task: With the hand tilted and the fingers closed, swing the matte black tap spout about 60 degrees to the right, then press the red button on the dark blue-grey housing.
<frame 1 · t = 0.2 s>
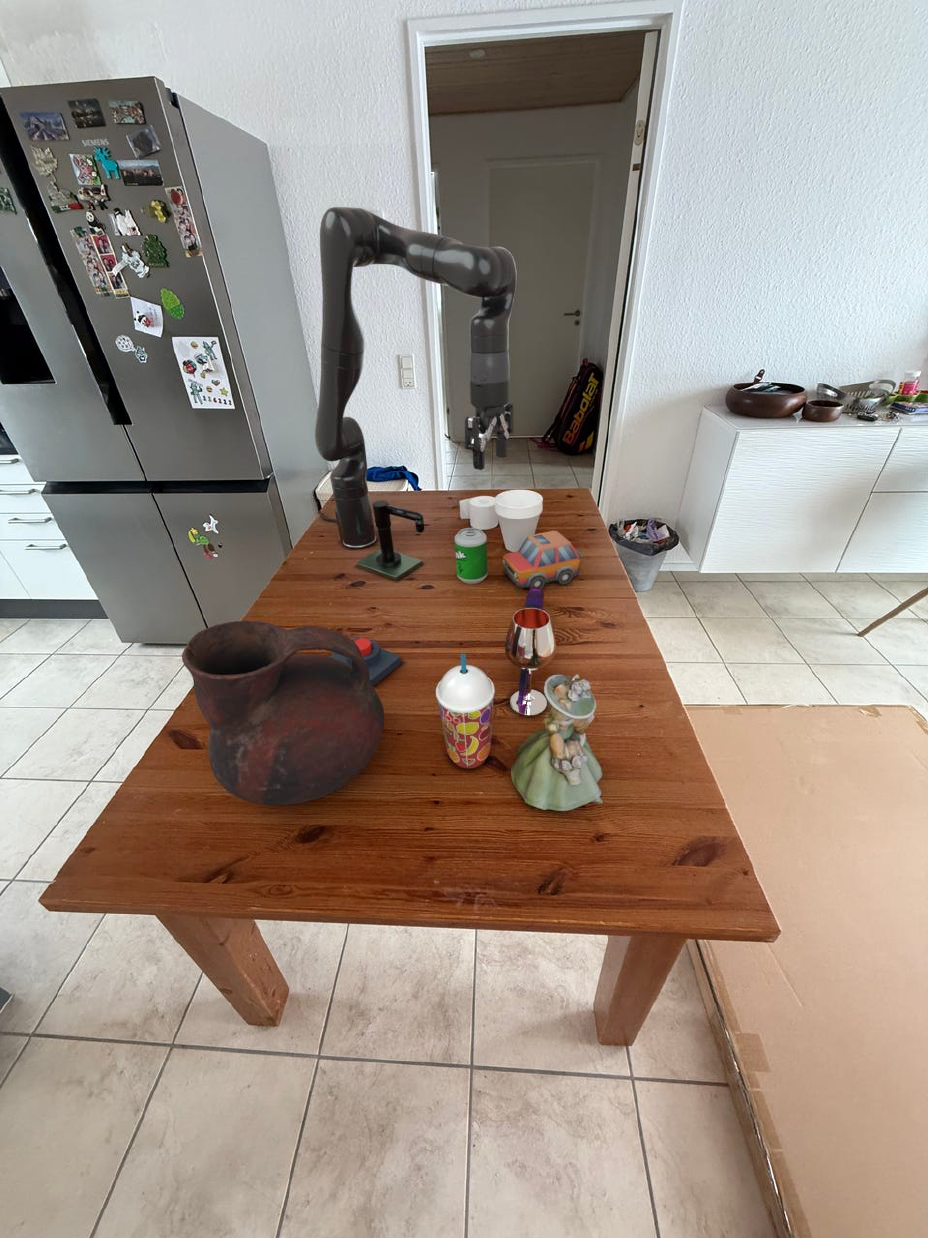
hand: (490, 462, 105), 29 cm above the table, tool pointing down, fingers open, 8 cm apart
figurine: (555, 788, 74), on the table
wineglass: (528, 703, 89), on the table, touching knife
spout: (399, 519, 121), point 14 cm above the table, hinge at 0.0°
soda can: (472, 578, 125), on the table
jug: (311, 762, 81), on the table
toy car: (540, 577, 124), on the table
smoothie: (469, 755, 80), on the table
tap base: (389, 565, 132), on the table
cup: (518, 547, 137), on the table
button: (361, 647, 97), point 4 cm above the table, slide at 0.1 cm
button box: (365, 663, 100), on the table
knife: (528, 654, 100), on the table, touching wineglass
toilet paper: (479, 522, 152), on the table
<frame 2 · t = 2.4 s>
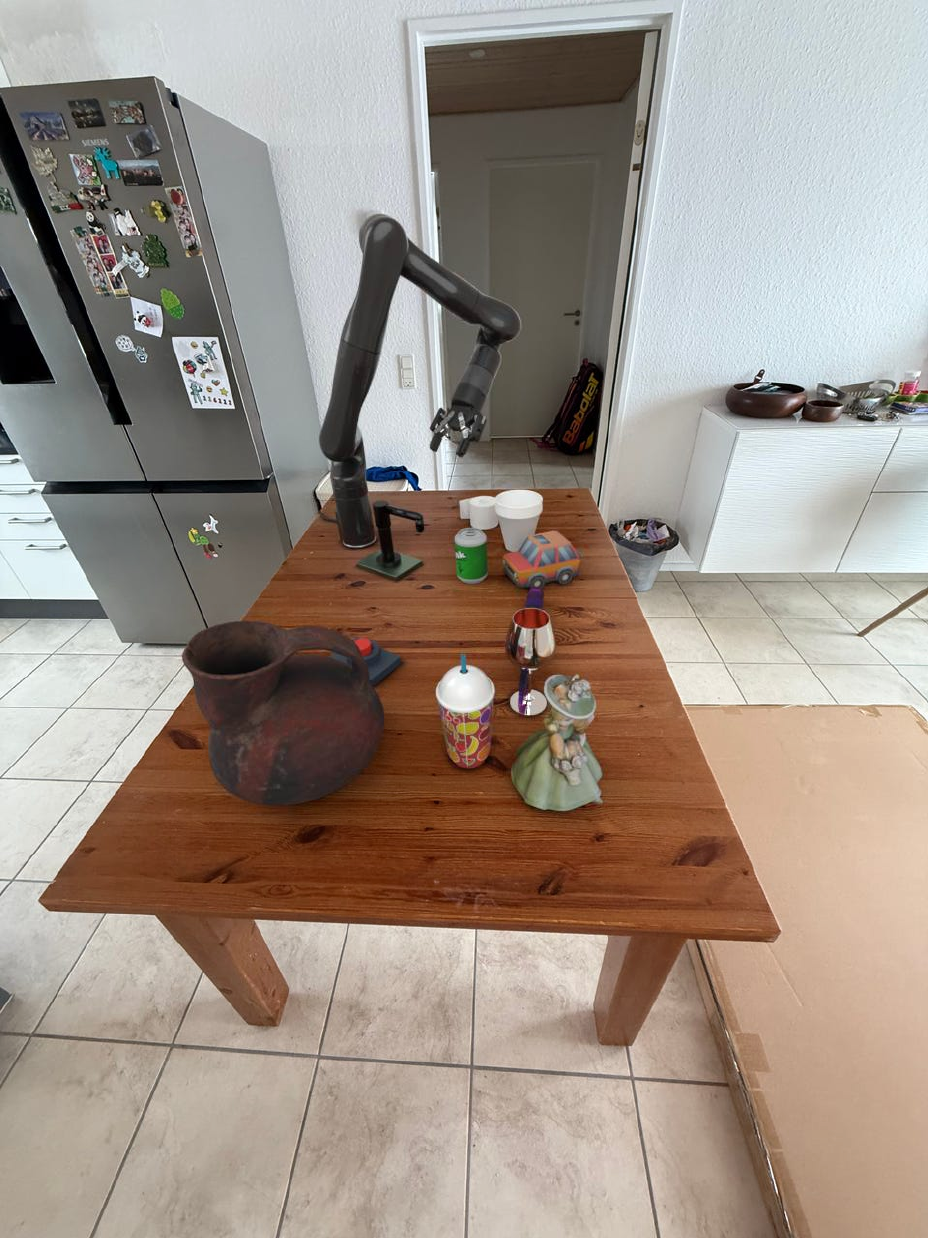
hand: (445, 452, 122), 26 cm above the table, tool tilted 45°, fingers open, 8 cm apart
nothing on the table moved.
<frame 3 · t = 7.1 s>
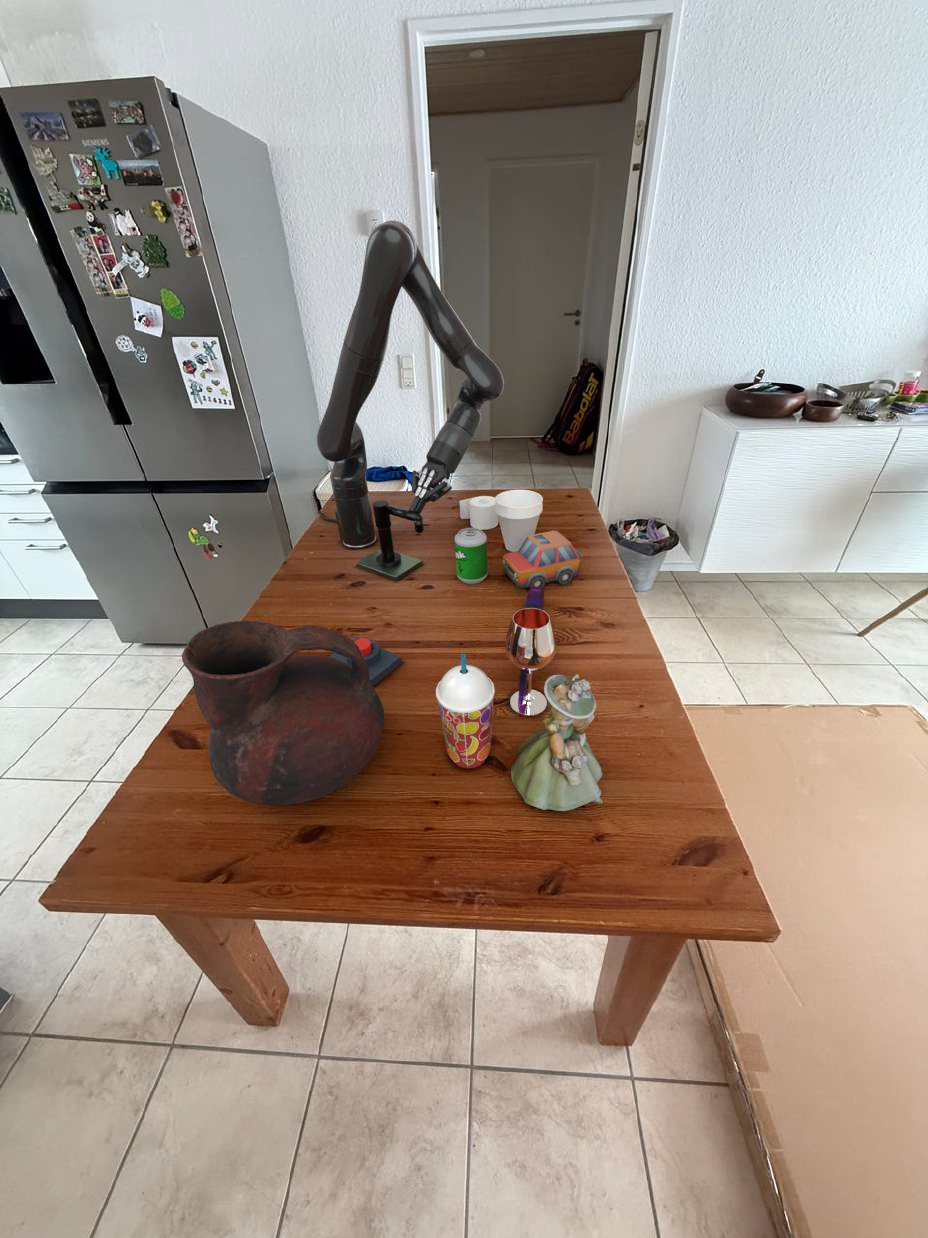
hand: (413, 513, 119), 16 cm above the table, tool tilted 45°, fingers closed
spout: (398, 519, 121), point 14 cm above the table, hinge at -1.6°, touching gripper
everything else where it was.
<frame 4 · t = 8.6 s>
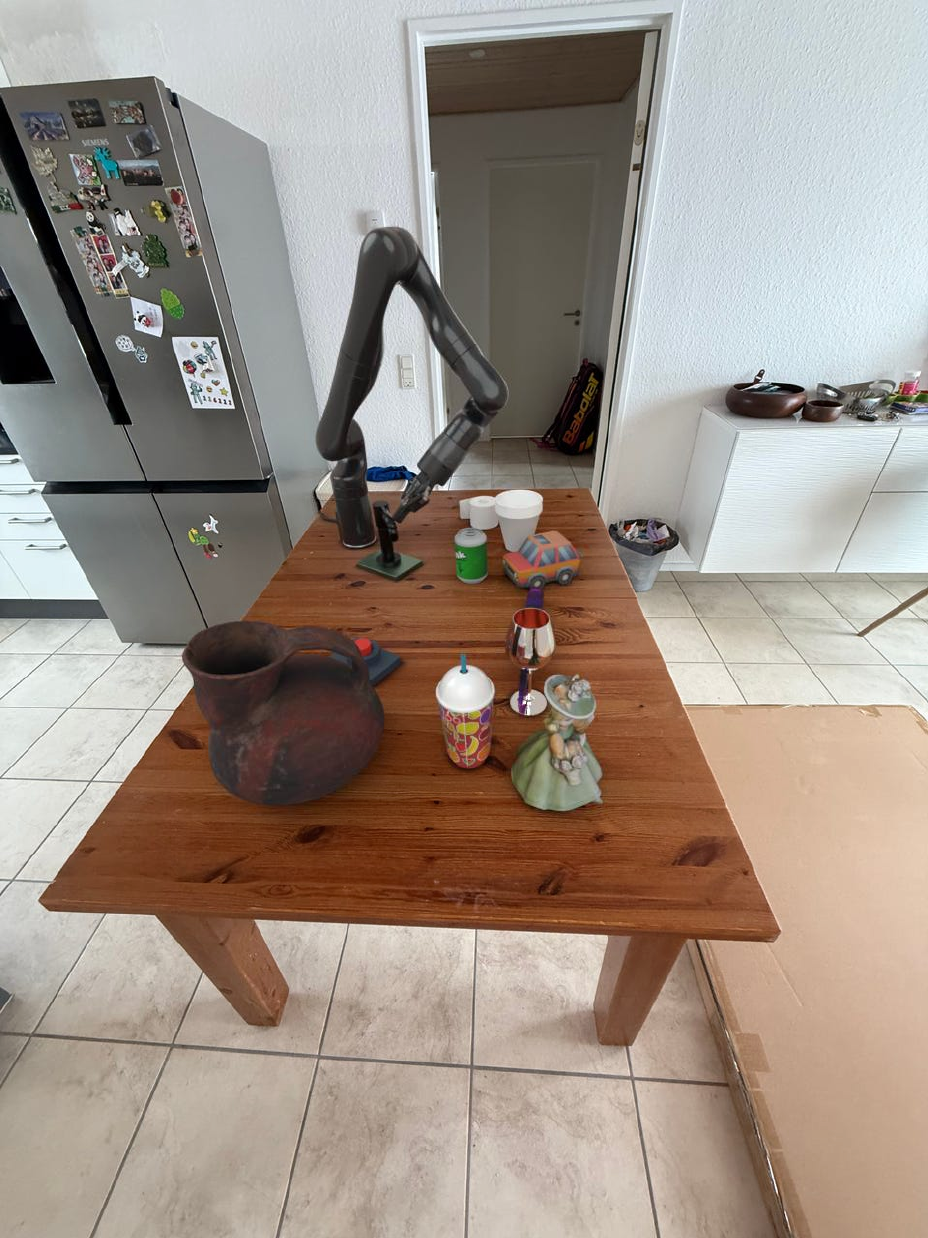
hand: (395, 520, 116), 16 cm above the table, tool tilted 45°, fingers closed
spout: (387, 523, 120), point 14 cm above the table, hinge at -34.1°, touching gripper
everything else where it was.
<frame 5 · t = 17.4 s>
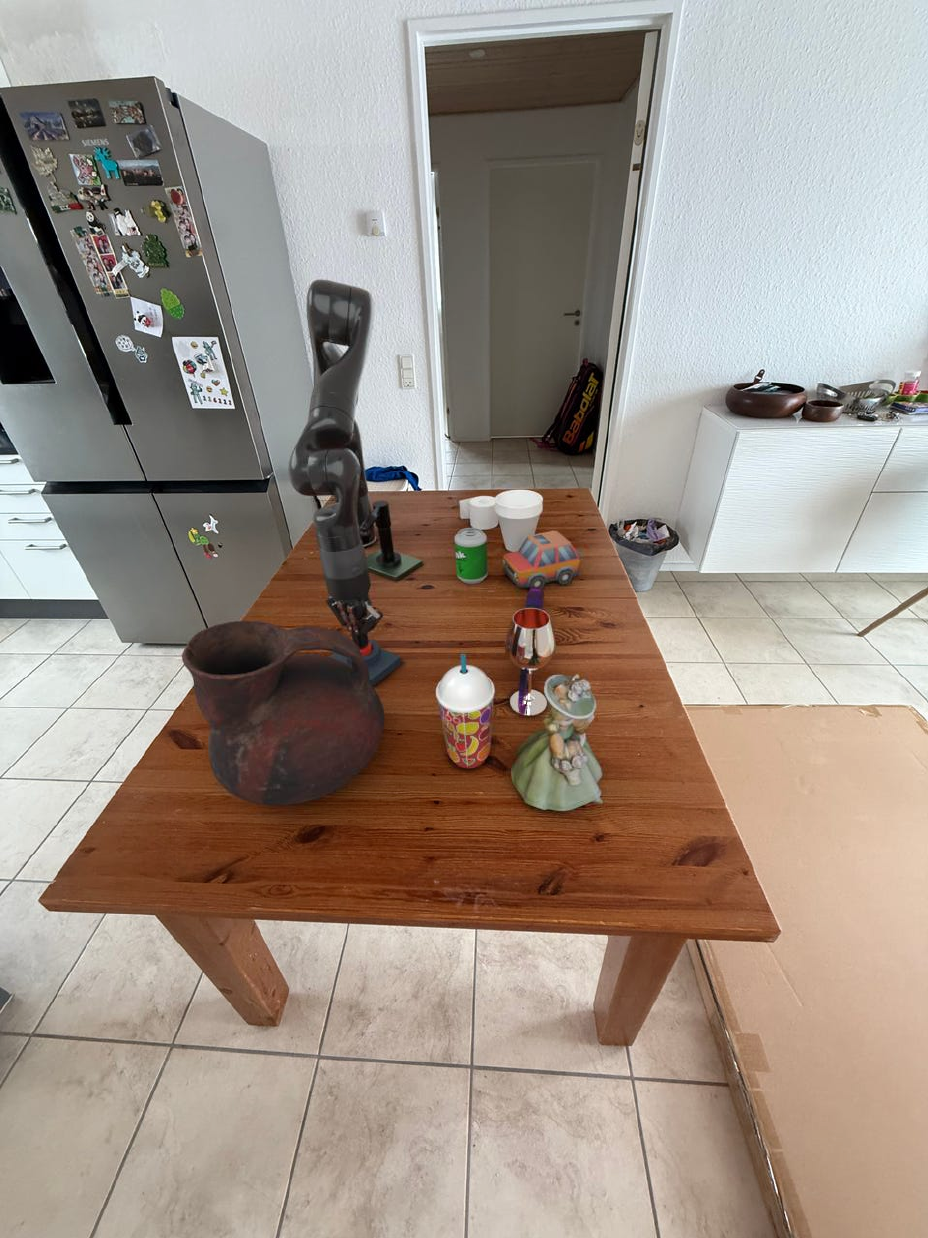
hand: (361, 646, 97), 4 cm above the table, tool pointing down, fingers closed
spout: (374, 524, 119), point 14 cm above the table, hinge at -64.5°
button: (362, 649, 98), point 4 cm above the table, slide at -0.3 cm, touching gripper
everything else where it was.
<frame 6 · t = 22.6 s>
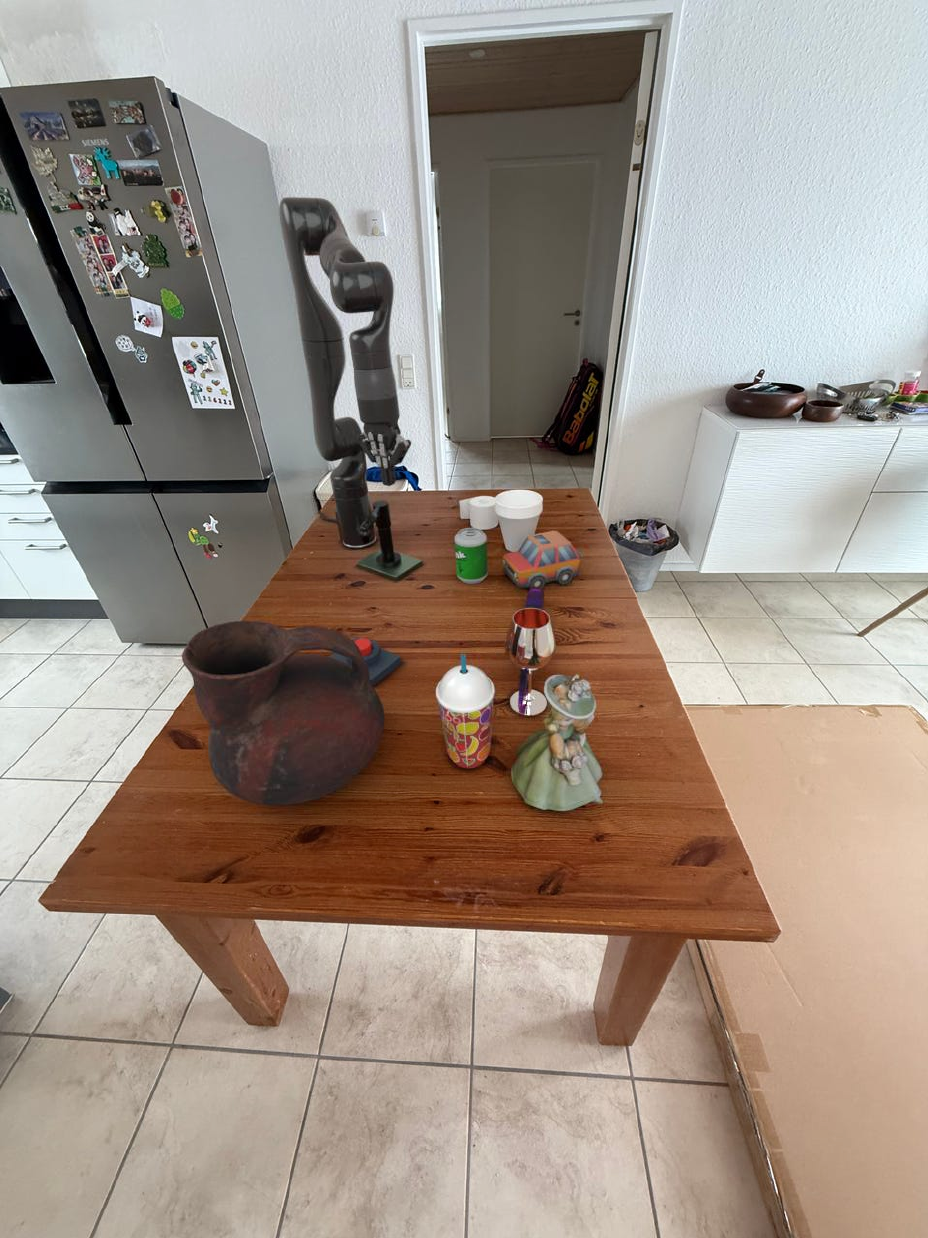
hand: (389, 484, 104), 27 cm above the table, tool pointing down, fingers closed
button: (361, 647, 97), point 4 cm above the table, slide at 0.1 cm
everything else where it was.
at the end: spout at -64° (first picture: +0°); button pushed in 1.0 cm at the most during the clip, back to where it started at the end; button slide at 0.1 cm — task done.
